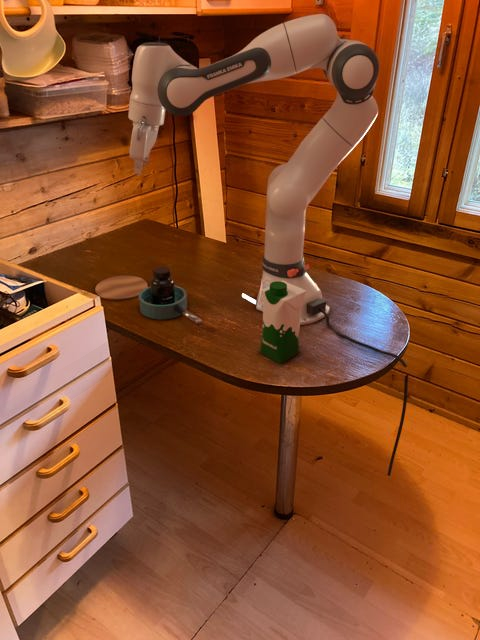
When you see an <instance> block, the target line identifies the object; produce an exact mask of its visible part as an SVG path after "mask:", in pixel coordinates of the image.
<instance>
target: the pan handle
mask: <svg viewBox="0 0 480 640" xmlns="http://www.w3.org/2000/svg"><path fill="white" fill-rule="evenodd" d="M174 311H176V312H177V313H179V314H180V316H182V317H183V318H185V319H186V320H188V321H189V322H190V323H192V324H194V325H195V326H196V327H199V326H201V325H202V324H203V320H202V319H201V318H200V317H198V316H196V314H193V313H192V312H191V311H189V310H188V309H184V308H183V307H181V306H180V305H178V304H177V305H175V306H174Z"/></svg>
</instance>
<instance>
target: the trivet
mask: <svg viewBox="0 0 480 640" xmlns="http://www.w3.org/2000/svg"><path fill="white" fill-rule="evenodd" d="M147 287H149V286H148V282H147V281H146V279H144V278H142V277H139V276H135V275H116V276H110V277H107V278H105V279H103V280H101V281H100V282H98V283H97V284H96V286H95V288H94V291H95V294H96V295H97V296H98V295H99V296H98V297H99V298H101V299H104V300H109V301H125V300H131V299H135V298H139V293H140V292H141V291H142V290H143V289H145V288H147Z"/></svg>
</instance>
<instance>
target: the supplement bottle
mask: <svg viewBox="0 0 480 640" xmlns="http://www.w3.org/2000/svg"><path fill="white" fill-rule="evenodd" d="M174 285H175V280H174V278H173V277H171V269H170V268H169V267H167V266H156V267H154V268H153V269H152V278H151V279H150V281H149V287H150V292H151V304H154V305H167V304H172V303H175V291H174Z"/></svg>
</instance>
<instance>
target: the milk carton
mask: <svg viewBox="0 0 480 640" xmlns="http://www.w3.org/2000/svg"><path fill="white" fill-rule="evenodd" d="M261 293H262V299H263V312H262V329H261V341H260V349H259V350H260V351H259V353H260V354H262V355H263V356H265V357H267V358H269V359H271V360H272V361H274V362H275V363H278V364H280V365H282V364H283V363H285V362H286V361H288V360H290V359H291V358H294V357H295V356H297V355H299V354H300V339H299V338H300V326H301V325H300V317H301V307H302V304H303V300H304V297H305V293H306V290H303V289H301V288H299V287H296V286H294V285H292V284H290V283H287V282H285V281H281V282H280V281H275V282H272V283H271V284H270V286H269V287H266V288H264V289H262V290H261Z"/></svg>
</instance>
